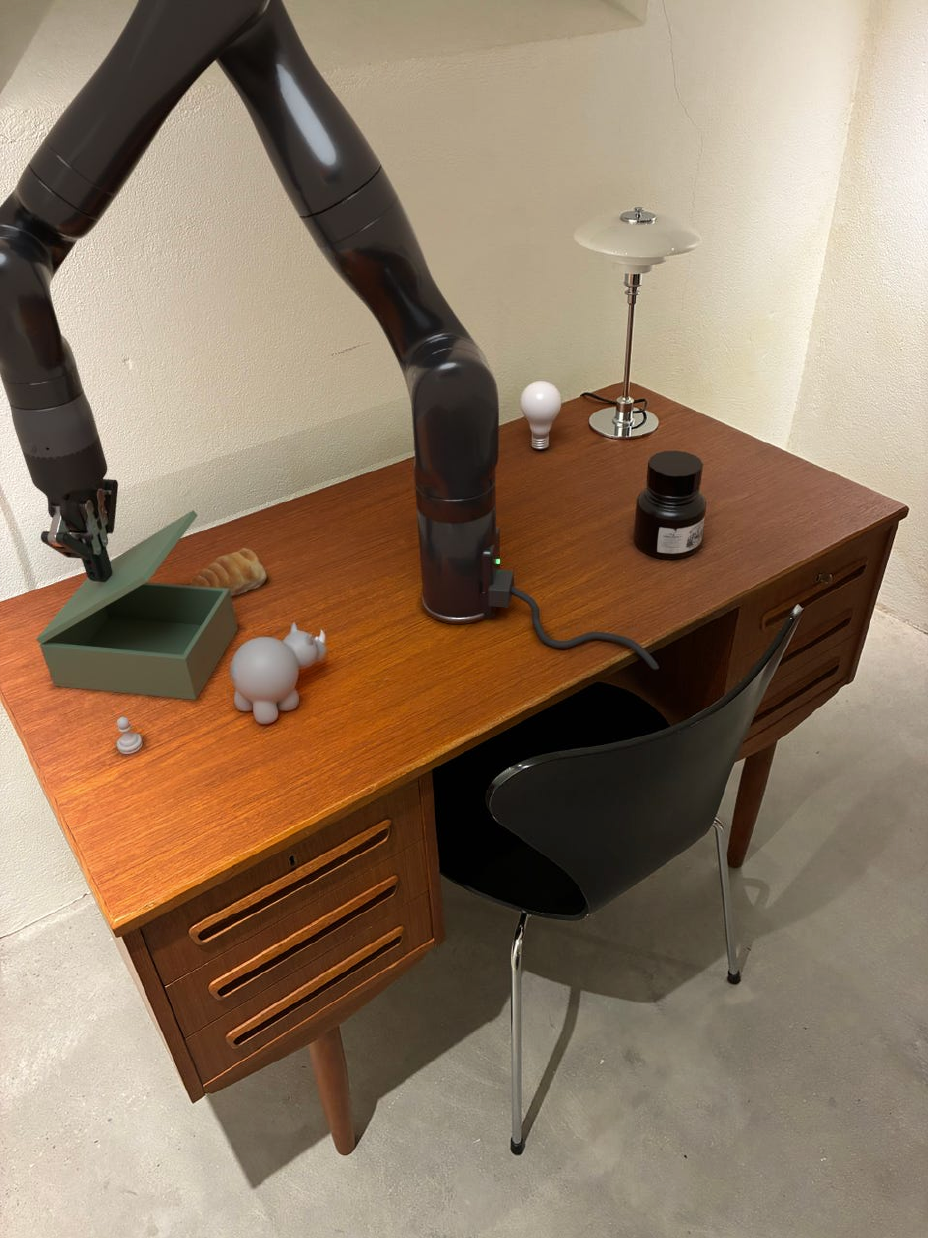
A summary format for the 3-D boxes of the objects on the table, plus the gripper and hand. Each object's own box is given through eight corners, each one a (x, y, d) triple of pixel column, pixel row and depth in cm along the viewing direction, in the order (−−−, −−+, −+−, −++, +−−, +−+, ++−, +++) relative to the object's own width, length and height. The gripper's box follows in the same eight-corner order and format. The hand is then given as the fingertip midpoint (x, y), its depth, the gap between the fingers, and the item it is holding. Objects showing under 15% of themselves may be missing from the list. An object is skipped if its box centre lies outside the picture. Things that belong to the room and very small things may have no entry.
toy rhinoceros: (350, 683, 112) (342, 623, 107) (263, 737, 105) (250, 675, 100) (311, 655, 116) (302, 596, 111) (225, 705, 110) (210, 645, 104)
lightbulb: (517, 457, 154) (517, 390, 147) (522, 438, 159) (522, 373, 152) (558, 459, 153) (560, 392, 146) (562, 440, 158) (564, 374, 151)
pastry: (206, 611, 124) (200, 586, 121) (182, 588, 128) (176, 564, 126) (272, 583, 128) (267, 558, 126) (246, 561, 133) (241, 537, 130)
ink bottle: (669, 570, 128) (678, 488, 120) (617, 543, 133) (623, 463, 126) (716, 541, 133) (727, 461, 125) (664, 517, 138) (672, 439, 131)
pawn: (116, 742, 105) (106, 714, 103) (140, 734, 106) (132, 706, 104) (120, 758, 104) (110, 729, 101) (145, 750, 104) (136, 722, 102)
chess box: (238, 628, 121) (229, 588, 117) (196, 700, 110) (185, 658, 107) (107, 617, 124) (95, 577, 120) (54, 686, 113) (39, 645, 110)
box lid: (198, 515, 112) (193, 509, 111) (148, 581, 101) (142, 575, 101) (96, 577, 120) (91, 572, 120) (40, 644, 110) (35, 639, 109)
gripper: (60, 470, 95) (105, 615, 105) (122, 410, 105) (157, 548, 115) (-11, 465, 96) (40, 610, 106) (57, 407, 106) (98, 543, 117)
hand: (101, 577), depth 111 cm, fingers closed
